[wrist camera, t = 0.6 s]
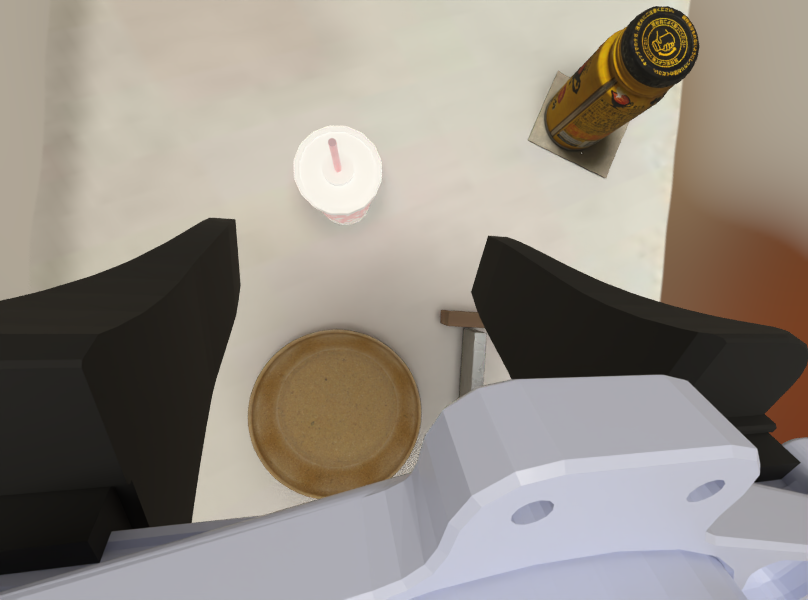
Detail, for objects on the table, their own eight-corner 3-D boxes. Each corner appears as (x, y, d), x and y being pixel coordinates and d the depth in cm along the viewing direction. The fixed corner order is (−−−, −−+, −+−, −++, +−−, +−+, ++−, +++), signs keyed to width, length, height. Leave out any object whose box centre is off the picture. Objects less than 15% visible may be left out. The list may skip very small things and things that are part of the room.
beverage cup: (372, 239, 37) (376, 206, 23) (305, 226, 36) (267, 184, 22) (383, 173, 37) (395, 100, 23) (317, 159, 36) (287, 76, 22)
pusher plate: (463, 496, 38) (474, 519, 34) (452, 495, 38) (463, 519, 34) (473, 329, 38) (486, 333, 34) (463, 328, 38) (475, 332, 34)
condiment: (557, 71, 38) (643, -29, 26) (633, 111, 39) (750, 31, 27) (526, 140, 38) (600, 71, 26) (604, 179, 39) (709, 128, 27)
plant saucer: (344, 518, 37) (342, 535, 35) (220, 416, 36) (209, 425, 34) (449, 398, 38) (455, 405, 36) (331, 294, 37) (329, 294, 34)
